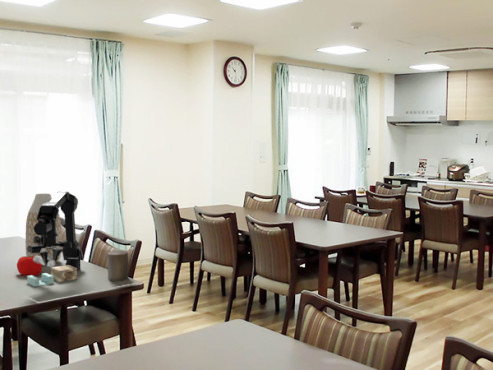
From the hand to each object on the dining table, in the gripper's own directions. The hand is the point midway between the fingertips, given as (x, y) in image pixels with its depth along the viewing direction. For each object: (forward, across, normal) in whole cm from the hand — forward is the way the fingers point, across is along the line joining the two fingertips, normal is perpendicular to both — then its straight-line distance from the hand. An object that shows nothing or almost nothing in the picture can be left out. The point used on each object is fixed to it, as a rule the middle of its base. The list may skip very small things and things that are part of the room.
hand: (50, 265), depth 250 cm
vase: (+11, -20, -49) cm, 54 cm away
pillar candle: (+11, -30, +9) cm, 33 cm away
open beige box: (+10, -11, -8) cm, 17 cm away
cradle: (+10, +1, -8) cm, 13 cm away
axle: (+1, 0, -6) cm, 6 cm away
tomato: (+11, -3, -27) cm, 30 cm away
